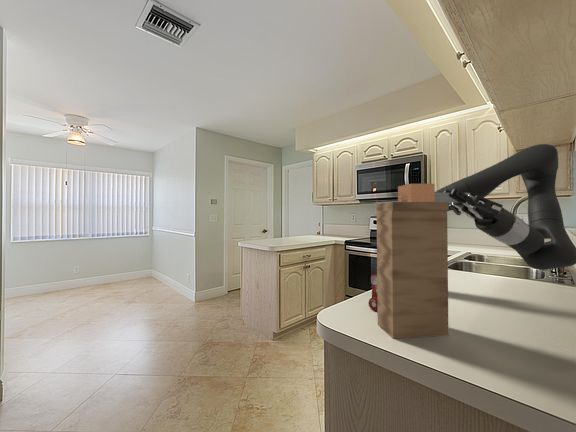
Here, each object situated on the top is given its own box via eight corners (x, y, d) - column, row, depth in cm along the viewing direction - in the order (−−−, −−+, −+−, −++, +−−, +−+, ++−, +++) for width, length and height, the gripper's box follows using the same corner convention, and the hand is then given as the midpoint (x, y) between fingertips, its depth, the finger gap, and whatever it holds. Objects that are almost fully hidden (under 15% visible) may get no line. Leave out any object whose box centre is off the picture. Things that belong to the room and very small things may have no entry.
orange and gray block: (398, 203, 69) (398, 186, 69) (457, 203, 70) (457, 186, 70) (411, 202, 63) (411, 183, 63) (476, 202, 64) (475, 184, 64)
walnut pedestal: (376, 323, 69) (375, 203, 69) (426, 321, 71) (424, 203, 71) (394, 339, 60) (392, 202, 61) (449, 336, 62) (448, 201, 62)
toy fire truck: (399, 321, 71) (398, 283, 71) (364, 308, 82) (364, 274, 82) (414, 316, 75) (414, 280, 75) (379, 304, 85) (379, 272, 85)
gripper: (485, 213, 76) (436, 183, 74) (535, 212, 62) (477, 175, 60) (473, 235, 75) (424, 206, 74) (521, 239, 61) (462, 203, 60)
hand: (448, 192), depth 67 cm, fingers closed on orange and gray block, 2 cm apart
